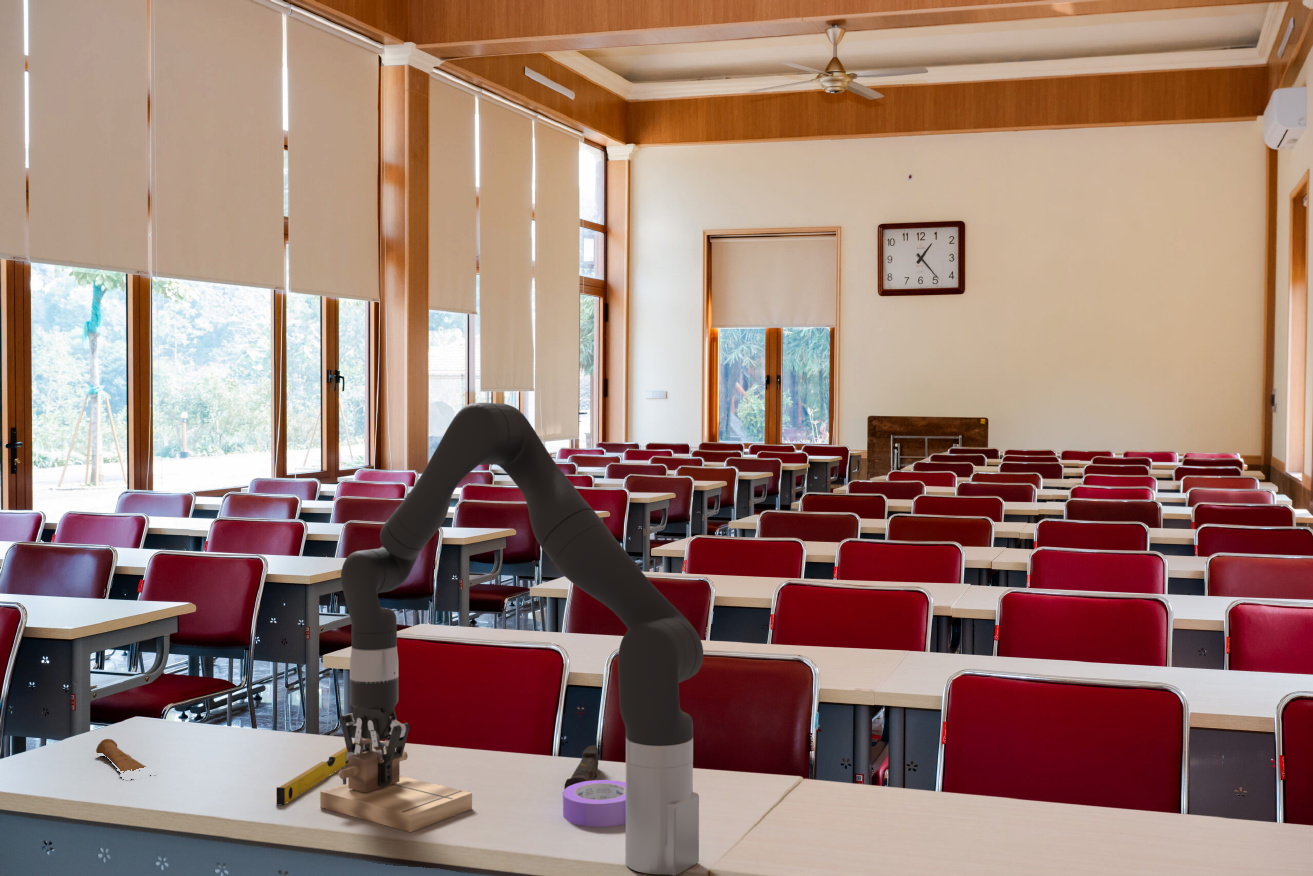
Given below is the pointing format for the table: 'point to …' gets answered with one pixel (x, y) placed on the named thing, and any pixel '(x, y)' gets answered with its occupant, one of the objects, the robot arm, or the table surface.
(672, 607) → the robot arm
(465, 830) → the table surface
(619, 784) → the masking tape
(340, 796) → the oak board
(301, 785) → the spirit level
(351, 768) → the tan peg block
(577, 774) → the hand tool
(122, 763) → the primitive tool
